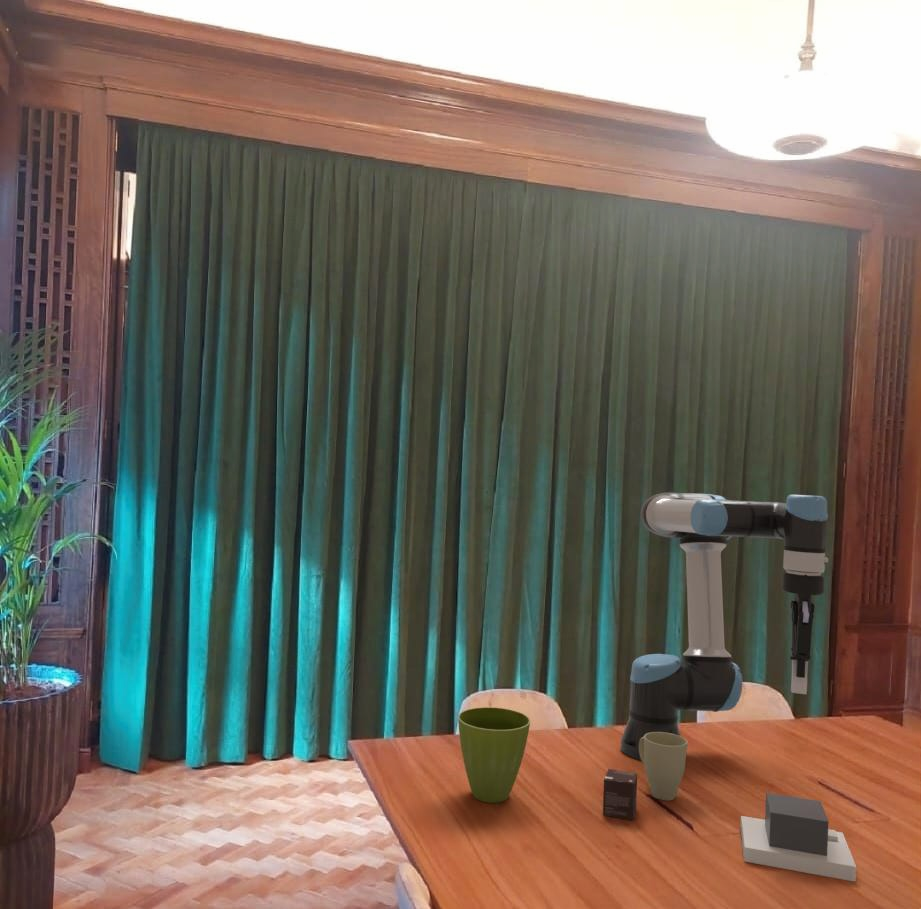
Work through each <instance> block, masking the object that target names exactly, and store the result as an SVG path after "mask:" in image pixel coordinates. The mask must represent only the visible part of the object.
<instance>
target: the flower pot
mask: <svg viewBox="0 0 921 909" xmlns="http://www.w3.org/2000/svg"><path fill="white" fill-rule="evenodd" d="M458 714H459V715H458V717H457V720H458V723H457V724H458V733H459V740H460V748H461V755H462V760H463V764H464V768H465V773H466V776H467V779H468V783H469V787H470V790H471V793H472V795H473V797H474V798H475V799H476V800H478V801H480V802H482V803H483V802H484V803H491V804H494V803H495V804H496V803H503V802H505V801H506V800H508V799H509V796H510V795H511V792H512V790H513V788H514V785H515V782H516V779H517V777H518V774H519V770H520V767H521V765H522V762H523V758H524V754H525V750H526V747H527V741H528V736H529V730H530V725H531V719H530V717H529V716H527V715H526V714H524V713H522V712H519V711H516V710H513V709H508V708H502V707H488V706H487V707H475V708H469V709H465V710H464V711H461V712H460V713H458Z"/></svg>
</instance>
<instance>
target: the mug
mask: <svg viewBox="0 0 921 909" xmlns="http://www.w3.org/2000/svg"><path fill="white" fill-rule="evenodd" d="M687 751H688V740H687V739H686V738H685V737H683V736H678V735H675V734H671V733H665V732H651V733H647V734H645V735H644V737H642V738H641V739H640V741H639V754H640V758H641V760H640V761H641V762H642V765H643V767H644V768H645V775H646V778H647V783H648V786H649V790H650V793H651V796H652V797H653V798H655V799H658V800H660V799H661V801H672V800H674V799H675V798H676V796H677V793H678V790H679V787H680V784H681V782H682V780H683V777H684V773H685V766H686V759H687Z"/></svg>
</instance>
